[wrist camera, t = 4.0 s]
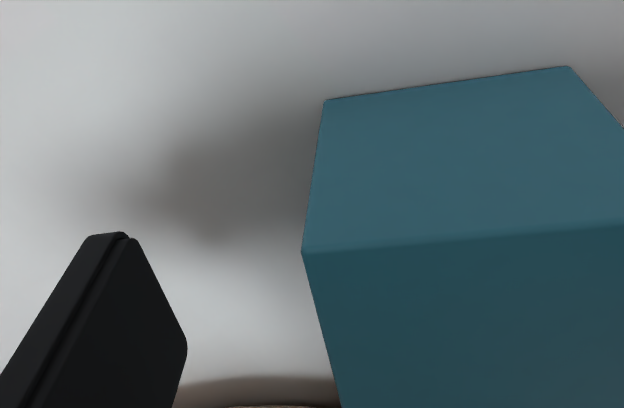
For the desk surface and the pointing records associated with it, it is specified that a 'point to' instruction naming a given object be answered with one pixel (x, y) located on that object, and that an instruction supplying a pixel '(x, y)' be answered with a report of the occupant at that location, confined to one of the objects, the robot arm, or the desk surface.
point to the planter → (271, 407)
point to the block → (471, 245)
